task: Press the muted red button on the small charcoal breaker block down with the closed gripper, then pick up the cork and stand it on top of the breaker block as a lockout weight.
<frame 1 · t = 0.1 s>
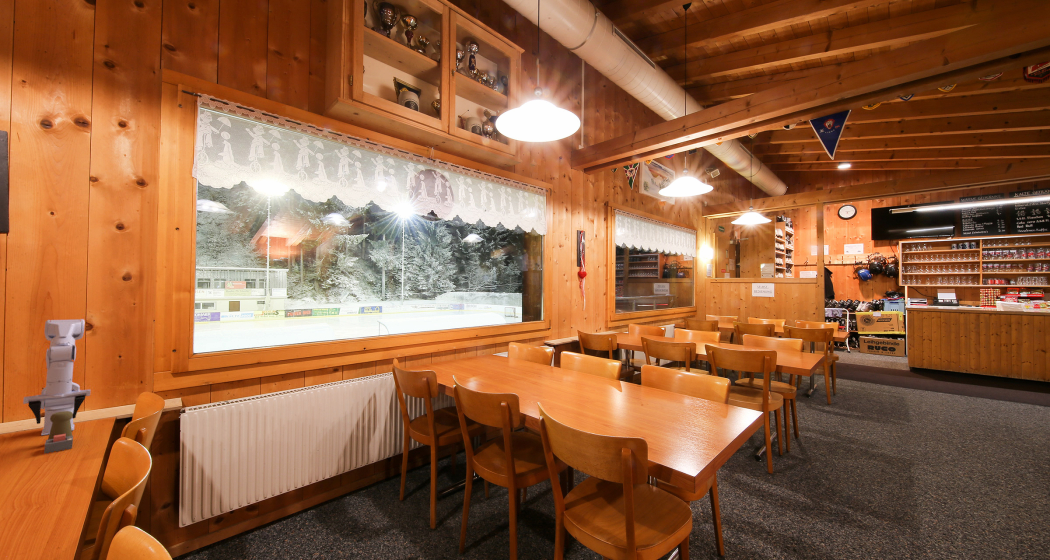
hand: (56, 420, 130), 10 cm above the table, tool pointing down, fingers open, 7 cm apart
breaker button: (59, 438, 131), point 3 cm above the table, slide at 0.0 cm
cork: (59, 443, 136), on the table
breaker block: (58, 448, 131), on the table
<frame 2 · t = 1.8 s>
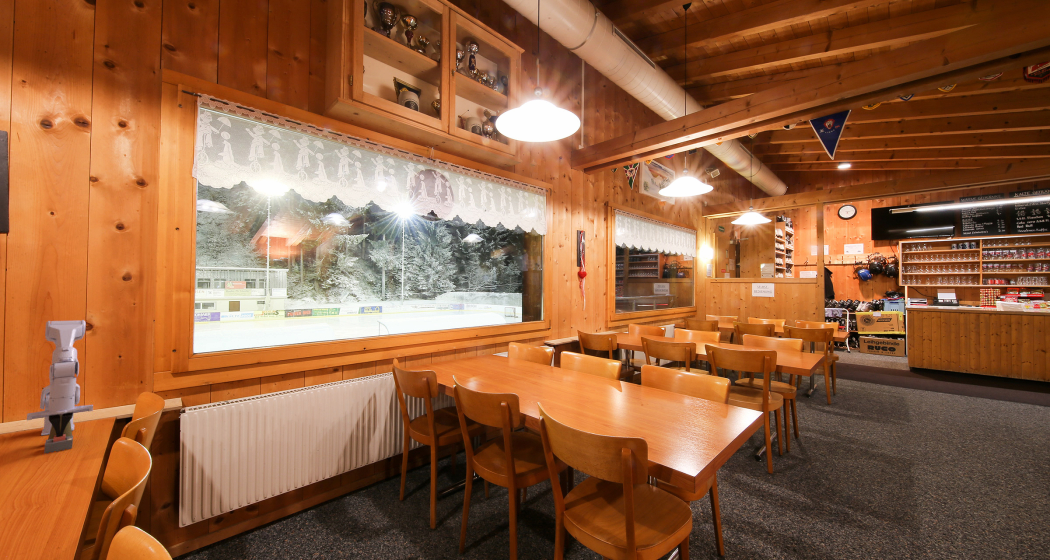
hand: (59, 436, 131), 4 cm above the table, tool pointing down, fingers closed, pressing on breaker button
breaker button: (59, 438, 131), point 3 cm above the table, slide at 0.1 cm, touching gripper
everything else where it was.
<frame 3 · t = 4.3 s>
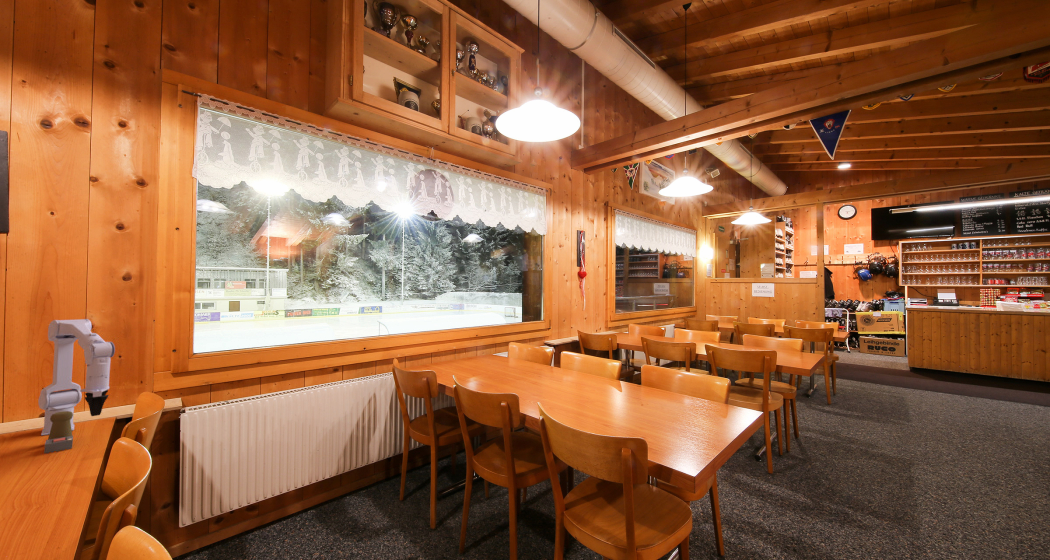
hand: (95, 413, 138), 10 cm above the table, tool pointing down, fingers open, 7 cm apart
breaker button: (59, 442, 131), point 2 cm above the table, slide at 1.3 cm
everything else where it was.
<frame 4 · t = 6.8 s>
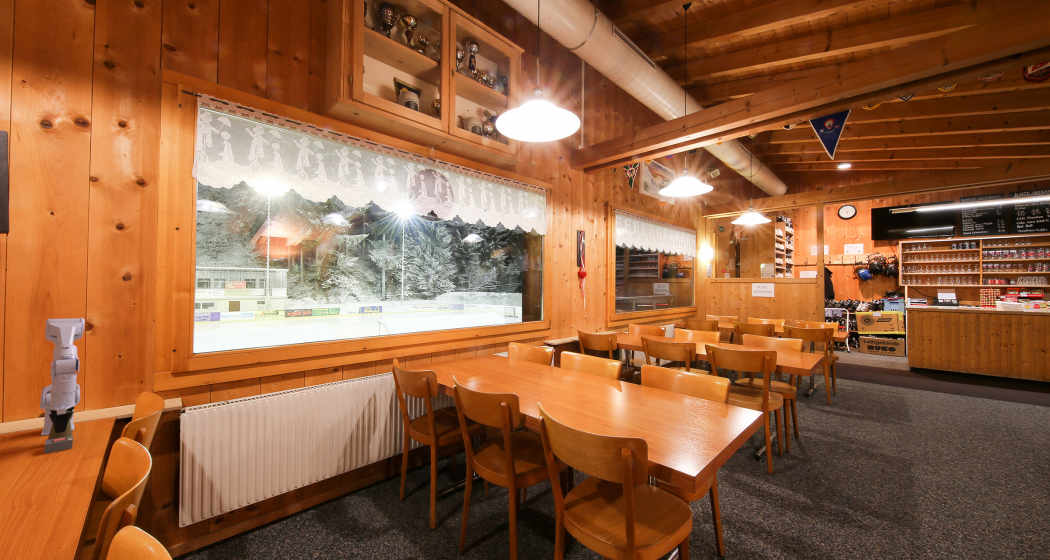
hand: (60, 430, 136), 4 cm above the table, tool pointing down, fingers closed on cork, 5 cm apart
cork: (59, 443, 136), on the table, touching gripper
everything else where it was.
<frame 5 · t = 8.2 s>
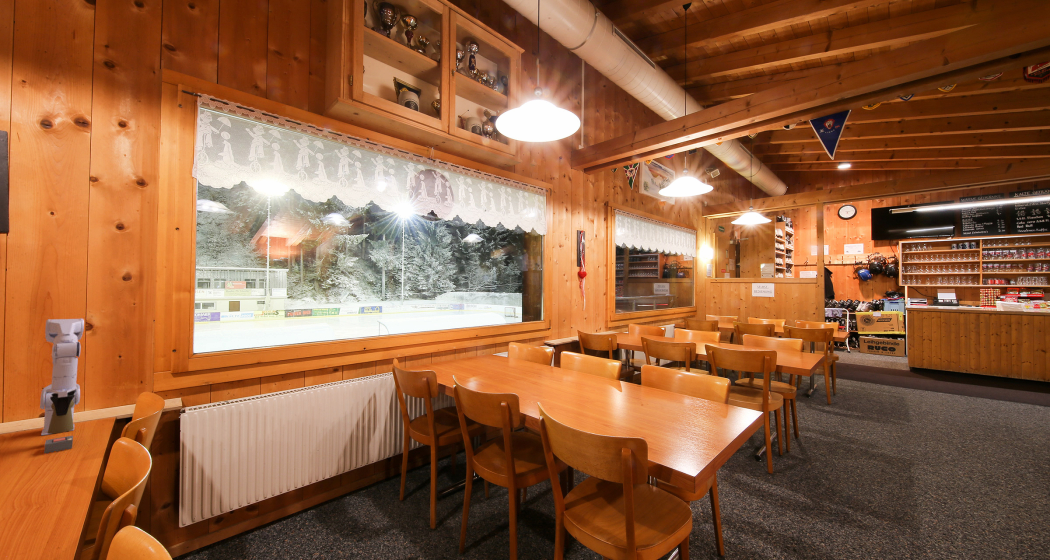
hand: (61, 413, 137), 10 cm above the table, tool pointing down, fingers closed on cork, 5 cm apart
cork: (60, 431, 136), point 4 cm above the table, touching gripper
everything else where it was.
when the fingers open (8 cm above the table, at t = 9.9 s): cork stays where it is, resting on breaker block.
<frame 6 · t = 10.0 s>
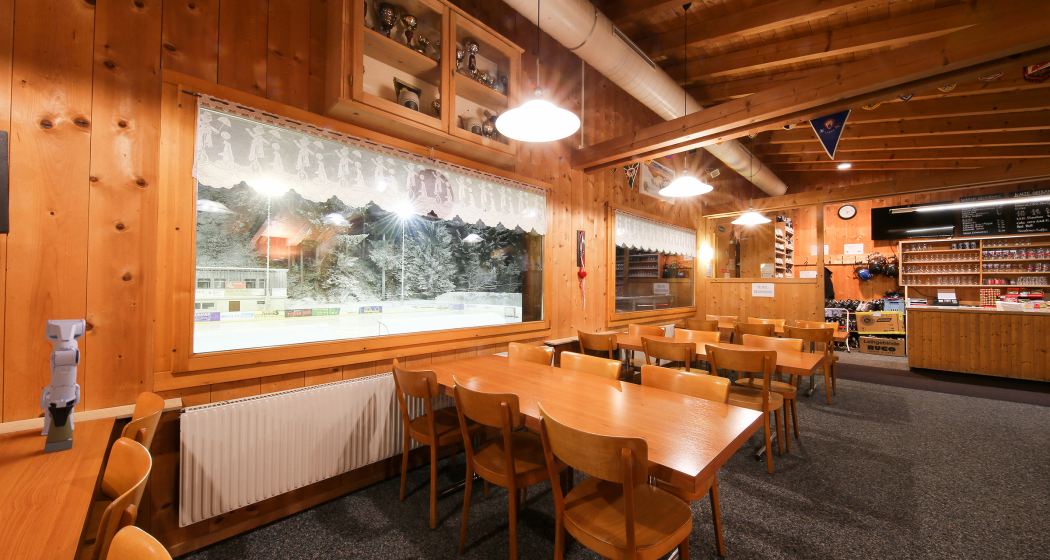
hand: (60, 424, 131), 8 cm above the table, tool pointing down, fingers open, 6 cm apart
cork: (59, 440, 131), point 3 cm above the table, touching breaker block
everything else where it was.
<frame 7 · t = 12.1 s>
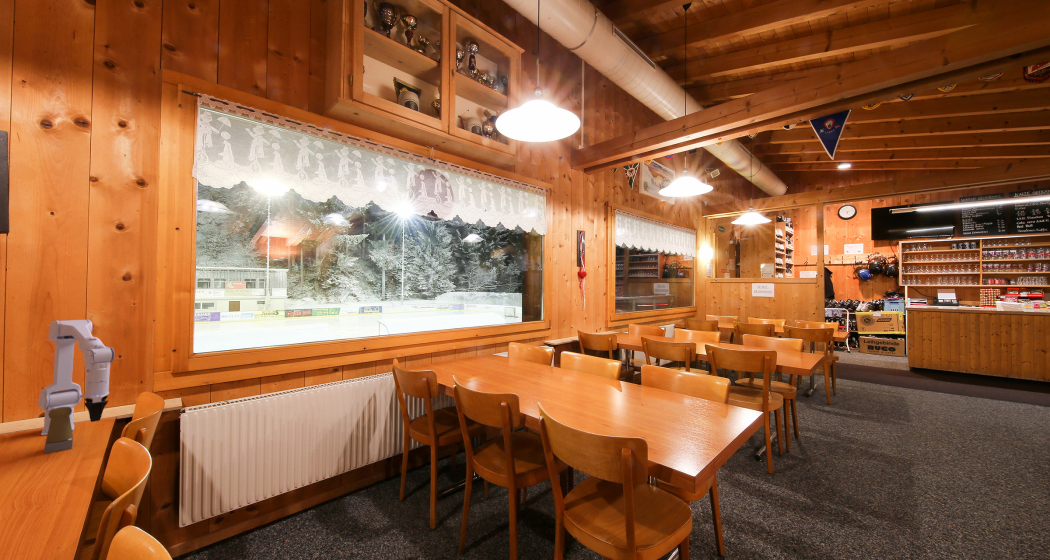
hand: (95, 418, 137), 8 cm above the table, tool pointing down, fingers open, 7 cm apart
nothing on the table moved.
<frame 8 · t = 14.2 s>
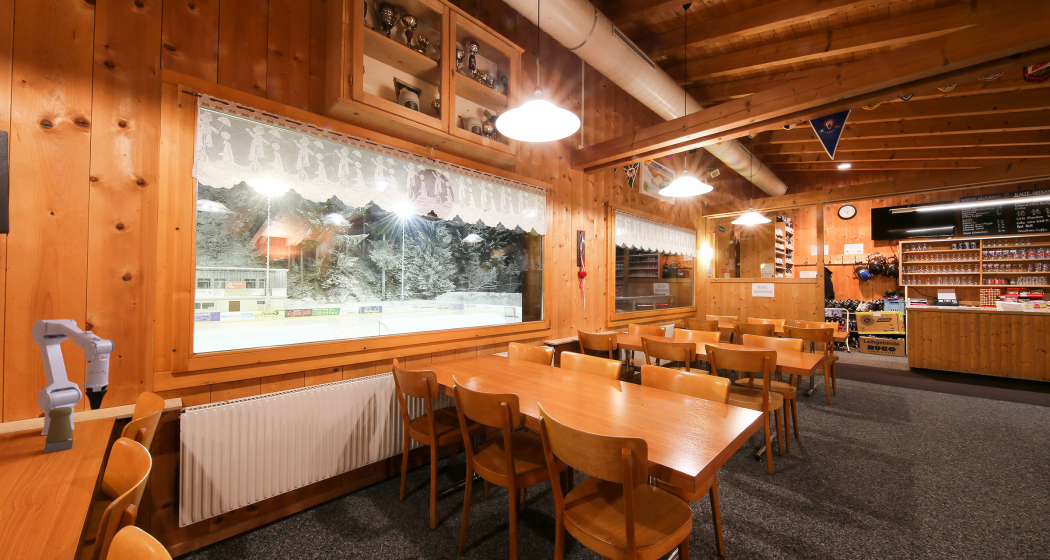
hand: (95, 407, 145), 10 cm above the table, tool pointing down, fingers open, 7 cm apart
nothing on the table moved.
at the end: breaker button slide at 1.5 cm; cork 0.1 cm off-centre on the breaker block, point 2.9 cm above the breaker block's base; cork tilted 2° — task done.
